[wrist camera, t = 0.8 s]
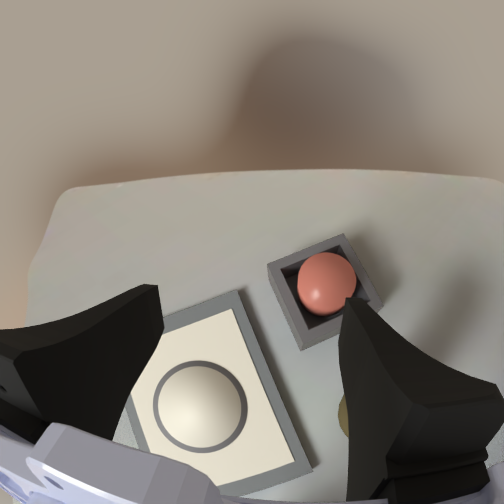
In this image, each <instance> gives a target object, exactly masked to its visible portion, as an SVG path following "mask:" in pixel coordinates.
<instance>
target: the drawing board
mask: <svg viewBox="0 0 504 504" xmlns="http://www.w3.org/2000/svg"><path fill="white" fill-rule="evenodd" d="M163 321H164V327H165V328H164V331H163V334H162V336H161V339H160V341H159V343H158V346H157V348H156V350H155V352H154V353H153V355H152V357H151V358H150V360H149V362H148V363H147V365H146V367H145V368H144V370H143V372H142V373H141V375H140V377H139V379H138V380H137V382H136V384H135V385H134V387H133V389H132V391H131V393H130V395H129V397H128V399H127V402H126V404H125V408H126V411H127V414H128V417H129V420H130V424H131V427H132V430H133V433H134V435H135V438H136V441H137V444H138V447H139V450H143V451H147V452H150V453H154V454H158V455H162V456H165V457H168V458H171V459H174V460H177V461H180V462H183V463H186V464H188V465H190V466H192V467H194V468H195V469H197V470H199V471H201V472H203V473H204V474H206V475H208V477H209V478H210V479H211V480H212V482H213V483H214V484H215V485H216V486H217V488H218V489H219V490H220V495H227V496H234V497H239V496H243V495H247V494H250V493H253V492H257V491H260V490H263V489H266V488H269V487H272V486H275V485H278V484H281V483H284V482H287V481H290V480H292V479H295V478H298V477H300V476H303V475H306V474H308V473H311V472H313V470H312V468H311V465H310V463H309V461H308V459H307V456H306V454H305V452H304V450H303V447H302V445H301V443H300V441H299V438H298V436H297V434H296V431H295V429H294V427H293V425H292V422H291V420H290V418H289V415H288V413H287V411H286V408H285V406H284V404H283V401H282V399H281V397H280V394H279V392H278V390H277V387H276V385H275V382H274V380H273V378H272V375H271V373H270V370H269V368H268V366H267V363H266V361H265V358H264V356H263V354H262V351H261V349H260V346H259V344H258V341H257V339H256V337H255V334H254V332H253V329H252V327H251V324H250V322H249V319H248V317H247V314H246V312H245V309H244V307H243V304H242V302H241V299H240V297H239V294H238V292H237V290H234V291H231V292H229V293H226V294H224V295H221V296H219V297H216V298H213V299H211V300H208V301H206V302H203V303H200V304H198V305H195V306H193V307H190V308H187V309H185V310H182V311H179V312H177V313H174V314H171V315H169V316H166V317H163Z"/></svg>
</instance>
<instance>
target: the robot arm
mask: <svg viewBox="0 0 504 504" xmlns="http://www.w3.org/2000/svg"><path fill="white" fill-rule="evenodd" d="M164 328H165V327H164V321H163V316H162V310H161V303H160V297H159V291H158V285H149V284H143V285H140V286H137V287H135V288H132V289H130V290H128V291H126V292H124V293H122V294H120V295H118V296H116V297H114V298H112V299H109V300H107V301H105V302H103V303H101V304H99V305H96V306H94V307H92V308H90V309H88V310H85V311H83V312H80V313H78V314H75V315H72V316H69V317H66V318H63V319H60V320H56V321H53V322H49V323H45V324H41V325H36V326H30V327H24V328H16V329H3V330H0V488H2V489H3V490H4V491H6V492H7V493H8V494H10V495H11V496H12V497H13V498H15V499H16V500H18V501H19V502H20V503H22V504H504V461H502V462H499V463H497V464H495V465H493V466H491V467H489V468H488V469H486V466H485V463H484V461H486V460H487V459H488V453H487V450H486V448H485V447H486V446H487V445H488V444H489V442H490V441H491V440H492V439H493V437H494V436H495V435H496V433H497V432H498V431H499V429H500V428H501V426H502V424H503V423H504V398H503V396H502V395H501V393H500V391H499V389H498V387H497V385H496V384H493V383H490V382H487V381H484V380H481V379H477V378H474V377H471V376H469V375H466V374H464V373H462V372H459V371H457V370H455V369H452V368H450V367H448V366H446V365H444V364H442V363H441V362H439V361H437V360H435V359H434V358H432V357H430V356H428V355H427V354H425V353H424V352H422V351H421V350H419V349H418V348H417V347H415V346H414V345H412V344H411V343H410V342H408V341H407V340H406V339H404V338H403V337H402V336H401V335H400V334H399V333H397V332H396V331H395V330H394V329H393V328H392V327H391V326H390V325H388V324H387V323H386V322H385V321H384V320H383V319H382V318H381V317H380V316H379V315H378V314H377V313H376V312H375V311H374V310H373V309H372V308H371V307H370V306H369V305H368V304H367V303H366V302H365V301H364V300H363V299H362V298H349V297H346V298H345V305H344V311H343V317H342V323H341V329H340V335H339V341H338V347H339V365H340V371H341V377H342V383H343V388H344V394H345V400H346V406H347V414H348V431H349V462H348V484H347V497H346V502H286V501H271V500H259V499H250V498H241V497H234V496H227V495H220V490H219V489H218V488H217V486H216V485H215V484H214V483H213V482H212V480H211V479H210V478H209V477H208V475H206V474H204V473H203V472H201V471H199V470H197V469H195V468H194V467H192V466H190V465H188V464H186V463H183V462H180V461H177V460H174V459H171V458H168V457H165V456H162V455H158V454H154V453H150V452H147V451H143V450H139V449H136V448H133V447H129V446H126V445H123V444H119V443H116V442H113V441H112V440H113V437H114V434H115V430H116V428H117V425H118V422H119V419H120V417H121V414H122V411H123V409H124V407H125V404H126V402H127V399H128V397H129V395H130V393H131V391H132V389H133V387H134V385H135V384H136V382H137V380H138V379H139V377H140V375H141V373H142V372H143V370H144V368H145V367H146V365H147V363H148V362H149V360H150V358H151V357H152V355H153V353H154V352H155V350H156V348H157V346H158V343H159V341H160V339H161V336H162V334H163V331H164Z"/></svg>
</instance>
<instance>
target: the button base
mask: <svg viewBox="0 0 504 504" xmlns="http://www.w3.org/2000/svg"><path fill="white" fill-rule="evenodd" d="M325 252H327V253H334V254H337V255H340V256H341V257H343V258H344V259H346V260H347V261H348V262H349V263H350V264H351V266H352V267H353V269H354V272H355V275H356V287H355V290H354V293H353V294H352V296H351V298H362V299H363V300H364V301H365V302H366V303H367V304H368V305H369V306H370V307H371V308H372V309H373V310H374V311H375V312H376V313H377V312H378V311H379V310H380V309H381V308H382V307H383V306H384V305H383V303H382V301H381V299H380V298H379V296H378V294H377V292H376V290H375V288H374V286H373V285H372V283H371V281H370V279H369V277H368V275H367V274H366V272H365V270H364V268H363V266H362V265H361V263H360V261H359V259H358V258H357V256H356V254H355V252H354V251H353V249H352V247H351V245H350V244H349V242H348V240H347V239H346V237H345V235H344V233H343V234H340V235H338V236H336V237H333V238H331V239H328V240H326V241H323V242H321V243H318V244H316V245H313V246H311V247H308V248H306V249H303V250H301V251H298V252H296V253H294V254H291V255H289V256H286V257H284V258H281V259H279V260H276V261H273V262H271V263H268V264H267V269H268V277H269V281H270V284H271V286H272V288H273V290H274V293H275V295H276V297H277V299H278V302H279V304H280V306H281V308H282V311H283V313H284V315H285V317H286V320H287V322H288V324H289V326H290V329H291V331H292V333H293V335H294V338H295V340H296V342H297V344H298V347H299V349H300V351H302V350H304V349H306V348H309V347H311V346H313V345H316V344H318V343H320V342H322V341H324V340H327V339H329V338H331V337H333V336H335V335H337V334H339V333H340V329H341V323H342V317H343V311H344V308H343V309H342V310H341V311H340V312H338V313H337V314H334V315H332V316H326V317H324V316H317V315H314V314H311V313H310V312H308V311H307V310H306V309H305V308H304V307H303V306H302V305H301V303H300V301H299V299H298V296H297V283H298V275H299V271H300V268H301V266H302V265H303V263H304V262H305V261H306V260H307V259H308V258H310V257H311V256H313V255H315V254H318V253H325Z"/></svg>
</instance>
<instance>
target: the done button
mask: <svg viewBox="0 0 504 504" xmlns="http://www.w3.org/2000/svg"><path fill="white" fill-rule="evenodd" d="M355 287H356V275H355V272H354V269H353V267H352V266H351V264H350V263H349V262H348V261H347V260H346V259H344V258H343V257H341V256H340V255H337V254H334V253H327V252H325V253H318V254H315V255H313V256H311V257H310V258H308V259H307V260H306V261H305V262H304V263H303V265H302V266H301V268H300V271H299V275H298V283H297V296H298V299H299V301H300V303H301V305H302V306H303V307H304V308H305V309H306V310H307V311H308V312H310V313H311V314H314V315H317V316H324V317H326V316H332V315H334V314H337V313H338V312H340V311H341V310H342V309H343V308H344V305H345V298H346V297H349V298H351V296H352V294H353V293H354V290H355Z"/></svg>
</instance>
